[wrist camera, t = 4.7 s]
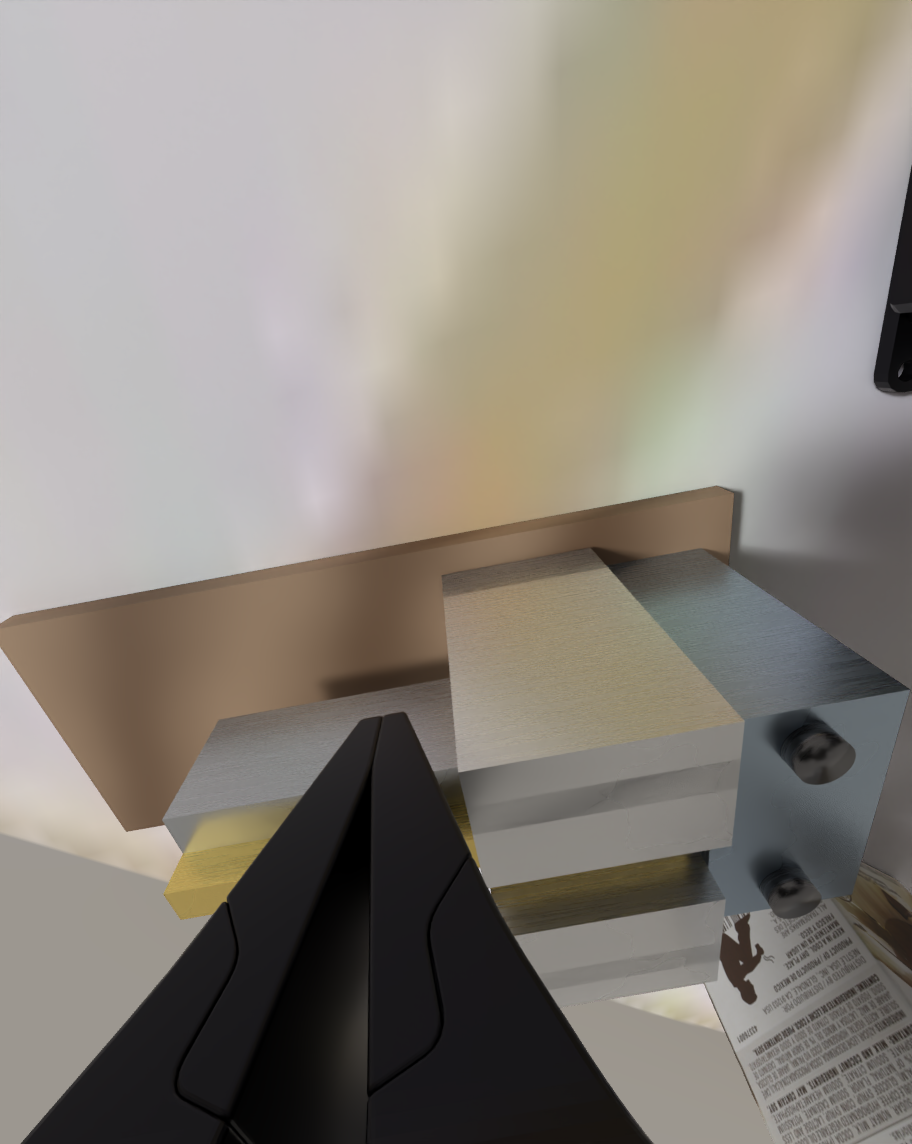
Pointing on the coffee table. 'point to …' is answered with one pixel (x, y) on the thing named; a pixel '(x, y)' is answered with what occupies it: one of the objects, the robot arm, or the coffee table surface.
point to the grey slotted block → (590, 775)
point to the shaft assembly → (721, 653)
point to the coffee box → (824, 1014)
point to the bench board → (289, 638)
